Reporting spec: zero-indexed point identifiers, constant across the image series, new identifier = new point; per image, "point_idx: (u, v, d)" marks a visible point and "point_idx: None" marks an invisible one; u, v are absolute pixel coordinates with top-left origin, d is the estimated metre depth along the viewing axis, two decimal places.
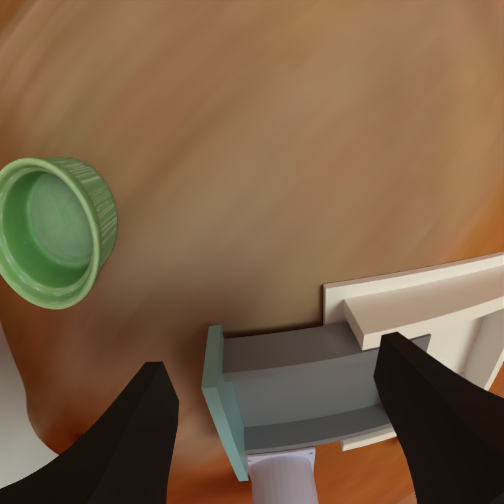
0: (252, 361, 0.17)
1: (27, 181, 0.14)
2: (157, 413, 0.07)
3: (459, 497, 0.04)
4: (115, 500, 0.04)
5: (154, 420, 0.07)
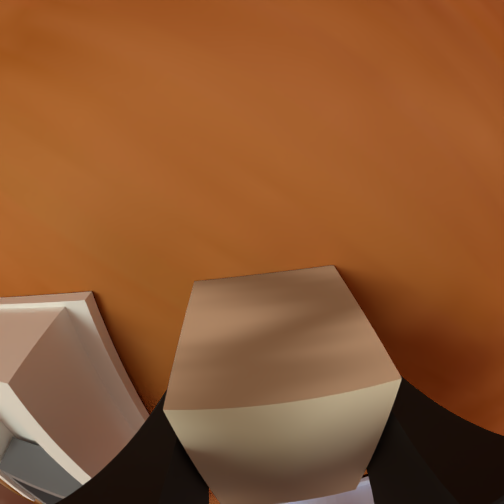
0: None
1: None
2: None
3: None
4: None
5: None
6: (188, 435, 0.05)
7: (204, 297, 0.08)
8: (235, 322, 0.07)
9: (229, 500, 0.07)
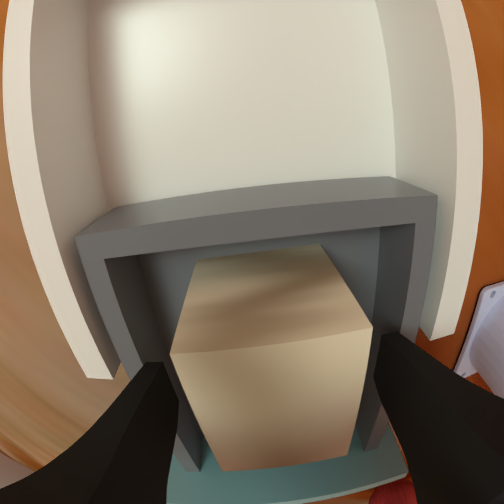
0: None
1: None
2: (157, 413, 0.07)
3: (459, 497, 0.04)
4: (115, 500, 0.04)
5: (154, 420, 0.07)
6: (190, 381, 0.06)
7: (205, 271, 0.10)
8: (232, 287, 0.08)
9: (228, 462, 0.08)
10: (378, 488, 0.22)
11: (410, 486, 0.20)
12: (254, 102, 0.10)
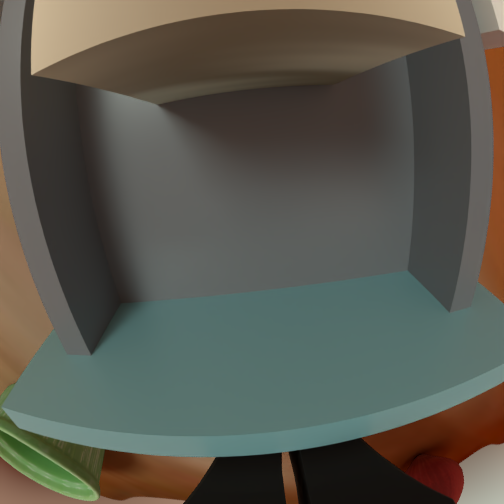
0: None
1: None
2: None
3: None
4: None
5: None
6: None
7: None
8: None
9: (59, 1, 0.02)
10: (410, 470, 0.16)
11: (453, 464, 0.14)
12: None
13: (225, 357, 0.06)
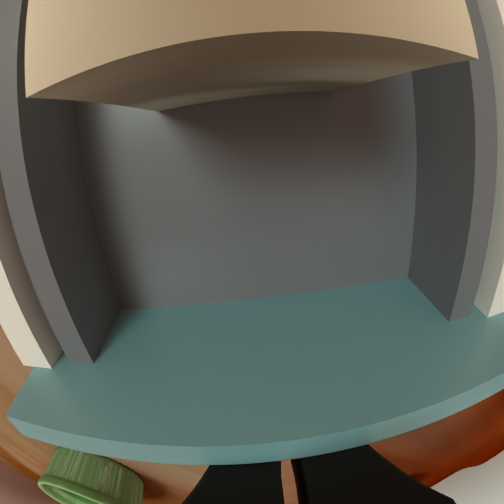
0: None
1: None
2: None
3: None
4: None
5: None
6: None
7: None
8: None
9: (52, 16, 0.02)
10: None
11: None
12: None
13: (227, 367, 0.06)
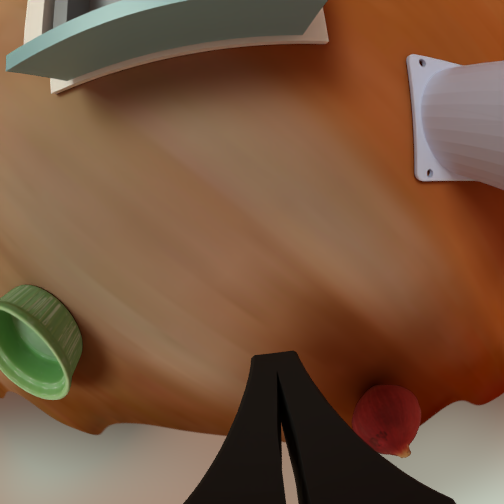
0: None
1: (20, 350, 0.19)
2: (279, 407, 0.07)
3: None
4: None
5: (278, 415, 0.07)
6: None
7: None
8: None
9: None
10: (362, 396, 0.21)
11: (405, 390, 0.19)
12: None
13: None
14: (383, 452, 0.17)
